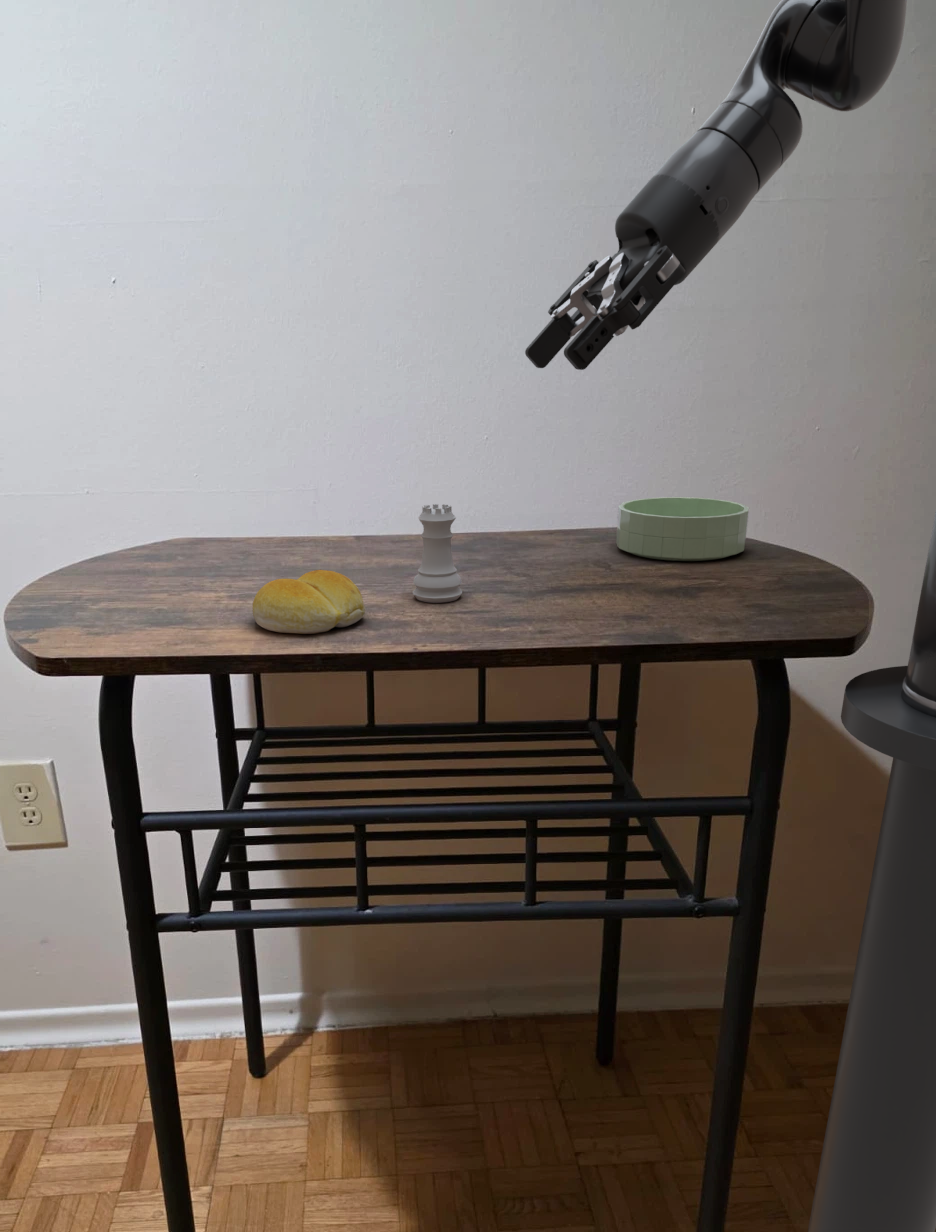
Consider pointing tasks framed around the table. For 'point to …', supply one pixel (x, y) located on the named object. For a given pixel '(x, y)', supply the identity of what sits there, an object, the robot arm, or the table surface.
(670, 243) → the robot arm
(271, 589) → the bread roll
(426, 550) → the rook chess piece
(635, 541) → the bowl
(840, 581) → the table surface
